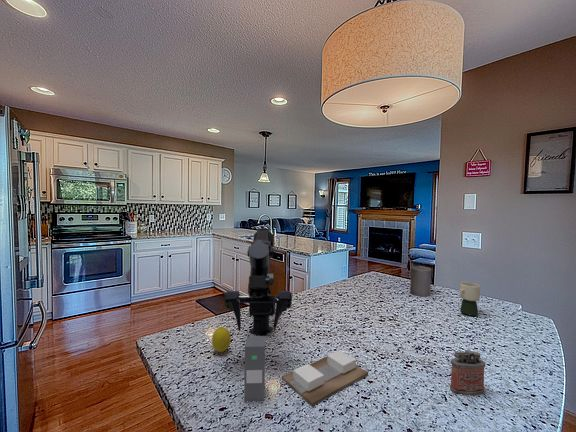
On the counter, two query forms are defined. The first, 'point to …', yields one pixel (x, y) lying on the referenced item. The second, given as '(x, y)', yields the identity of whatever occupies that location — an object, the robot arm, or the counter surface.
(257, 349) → the block
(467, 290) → the character mug
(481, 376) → the lighter
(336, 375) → the rail
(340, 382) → the board
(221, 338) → the lemon
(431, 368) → the counter surface
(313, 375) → the terminal blocks
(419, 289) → the pillar candle
